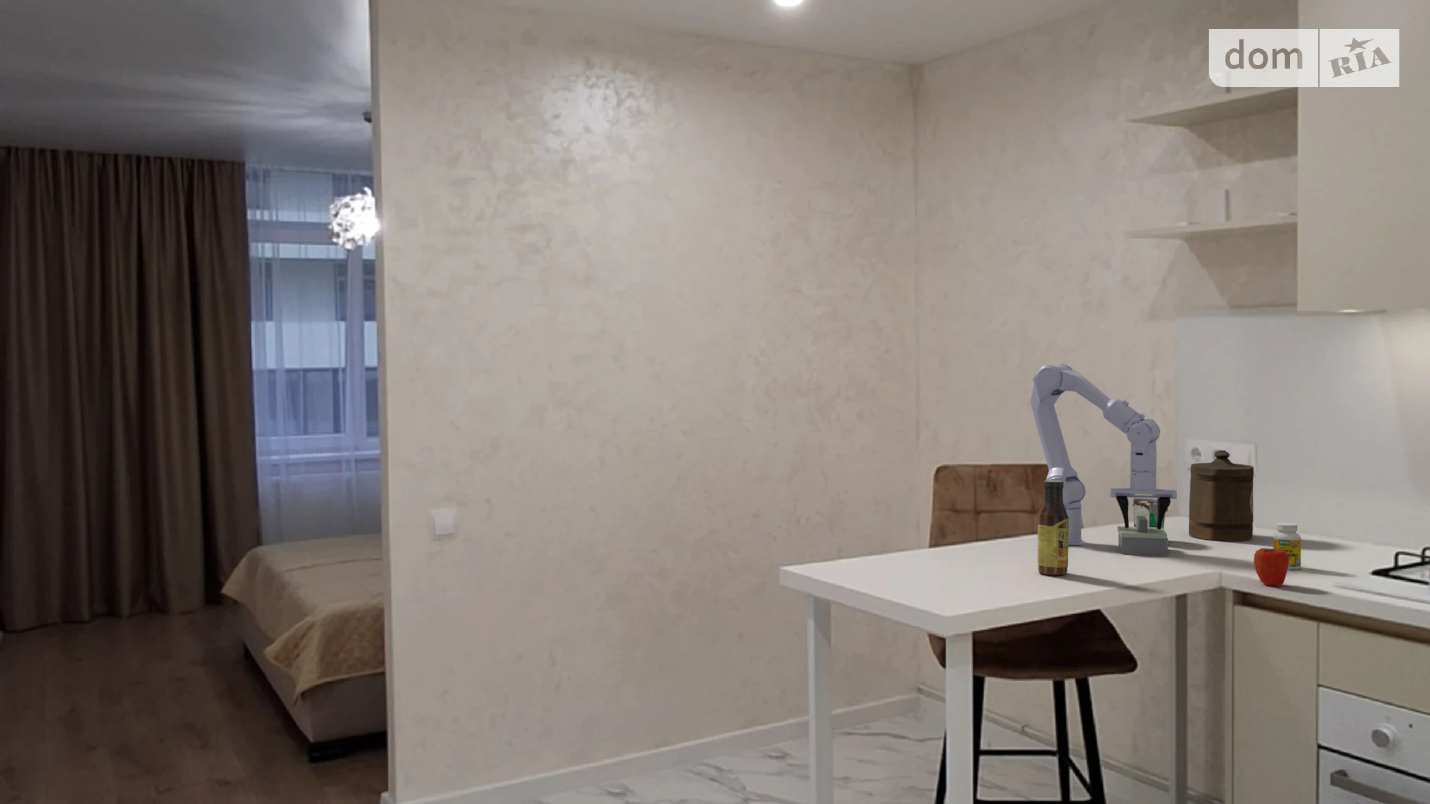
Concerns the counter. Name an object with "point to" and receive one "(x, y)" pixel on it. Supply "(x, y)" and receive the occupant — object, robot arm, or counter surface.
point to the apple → (1271, 566)
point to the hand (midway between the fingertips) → (1142, 528)
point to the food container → (1147, 511)
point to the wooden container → (1221, 500)
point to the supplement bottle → (1289, 543)
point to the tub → (1143, 546)
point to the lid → (1142, 530)
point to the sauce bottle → (1053, 531)
